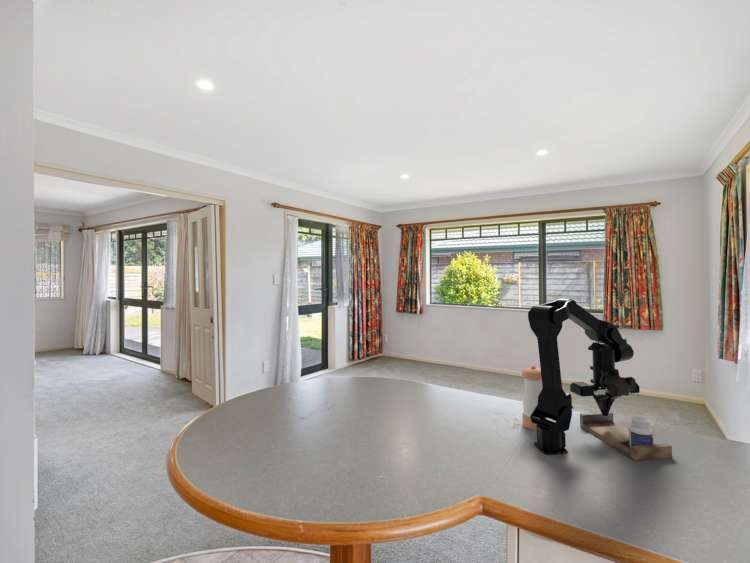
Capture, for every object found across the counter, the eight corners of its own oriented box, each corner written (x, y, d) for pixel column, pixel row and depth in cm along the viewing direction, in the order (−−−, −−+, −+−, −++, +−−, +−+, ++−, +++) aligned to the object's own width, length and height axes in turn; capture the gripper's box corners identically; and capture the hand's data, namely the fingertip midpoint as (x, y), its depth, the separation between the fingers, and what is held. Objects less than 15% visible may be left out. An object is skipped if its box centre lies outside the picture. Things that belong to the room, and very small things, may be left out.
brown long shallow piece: (635, 460, 97) (635, 444, 97) (580, 426, 119) (579, 413, 119) (672, 457, 98) (671, 442, 98) (610, 424, 120) (609, 411, 120)
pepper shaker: (522, 428, 119) (520, 367, 119) (522, 420, 126) (521, 362, 126) (547, 431, 117) (546, 369, 116) (546, 422, 123) (545, 363, 123)
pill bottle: (657, 457, 98) (656, 423, 98) (634, 456, 99) (633, 422, 99) (648, 448, 103) (647, 416, 103) (626, 447, 104) (625, 415, 104)
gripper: (592, 372, 106) (593, 428, 106) (654, 369, 108) (655, 423, 108) (568, 363, 117) (569, 414, 117) (624, 360, 119) (626, 410, 119)
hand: (605, 415), depth 115 cm, fingers closed
